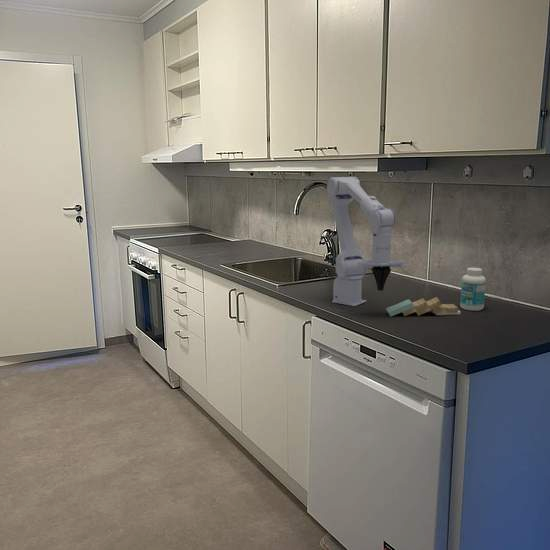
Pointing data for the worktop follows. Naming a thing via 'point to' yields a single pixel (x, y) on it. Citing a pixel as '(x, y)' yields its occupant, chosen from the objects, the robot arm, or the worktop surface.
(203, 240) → the worktop surface
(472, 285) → the pill bottle
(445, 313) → the domino
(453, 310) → the domino
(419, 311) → the domino
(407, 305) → the domino
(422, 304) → the domino
